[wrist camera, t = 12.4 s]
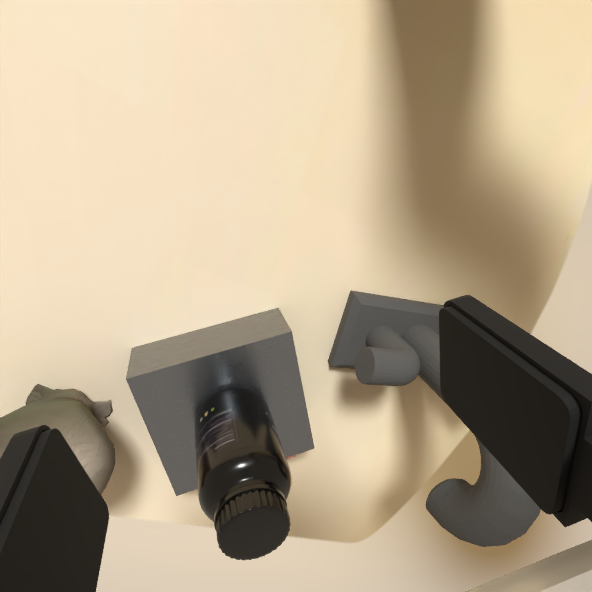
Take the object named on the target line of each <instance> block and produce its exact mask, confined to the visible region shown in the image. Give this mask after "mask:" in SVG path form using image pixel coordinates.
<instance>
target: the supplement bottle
mask: <svg viewBox="0 0 592 592" xmlns="http://www.w3.org/2000/svg"><path fill="white" fill-rule="evenodd" d="M194 429H195V448H196V465H197V482H198V495H199V502H200V505H201V508H202V510H203V511H204V513H205V514H206V515H207V516H208V517H209V518H210V519H211V520H212V521H213V522H214V525H215V529H216V532H217V541H218V544H219V548H220V549H221V550H222V552H223V553H225V555H226V556H229V557H231V558H235V559H237V560H240V559H241V560H248V559H249V560H251V559H255V558H259V557H261V556H265V555H266V554H269V553H271V552H272V551H273V550H275V549H277V547H278V546H280V545H281V544H282V542H283V541H284V540H285V539H286V537H287V536H288V532H289V530H290V517H289V513H288V510H287V503H286V499H287V497H288V494H289V491H290V487H291V473H290V469H289V465H288V462H287V460H286V457H285V454H284V451H283V448H282V445H281V442H280V439H279V436H278V433H277V430H276V427H275V424H274V421H273V418H272V415H271V412H270V410H269V407H268V405H267V403H266V401H265V400H264V399H263V398H262V397H261V396H260V395H259V394H258V393H256V392H254V391H252V390H249V389H245V388H229V389H225V390H222V391H219V392H217V393H215V394H213V395H212V396H210V397H209V398H208V399H207V400H206V401H205V402H204V403H203V404H202V405H201V407H200V408H199V410H198V412H197V414H196V417H195V425H194Z"/></svg>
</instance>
